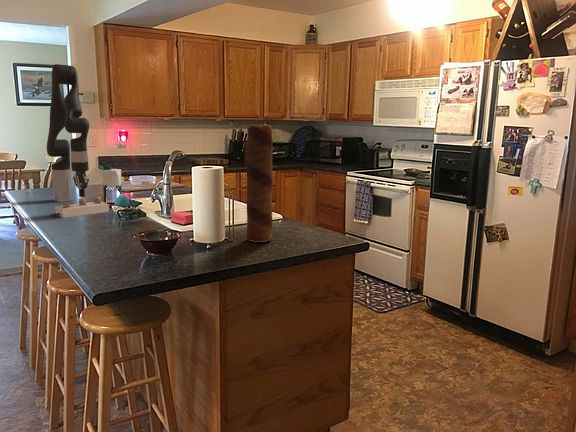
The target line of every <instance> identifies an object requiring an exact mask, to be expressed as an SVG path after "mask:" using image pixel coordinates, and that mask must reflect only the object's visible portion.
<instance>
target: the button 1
mask: <svg viewBox="0 0 576 432" xmlns="http://www.w3.org/2000/svg"><path fill="white" fill-rule="evenodd" d="M70 205H71V204H67V203H66V204H65V203H64V204H63V205H62V206H63V208H69V207H70Z"/></svg>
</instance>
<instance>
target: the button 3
mask: <svg viewBox="0 0 576 432" xmlns="http://www.w3.org/2000/svg"><path fill="white" fill-rule="evenodd" d="M93 200H94V201H93V202H94V203H101V202H102V198H101V197H100V196H94V197H93Z"/></svg>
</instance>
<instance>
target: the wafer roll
mask: <svg viewBox="0 0 576 432" xmlns="http://www.w3.org/2000/svg"><path fill="white" fill-rule="evenodd" d="M246 138H247V139H246V150H245V153H246V155H245V157H246V158H245V159H246V160H245V161H246V170H245V171H246V217H247V218H246V223H247V224H246V240H247V239H249V240H254V241H265V240H269V239H271V238H272V239H273V203H272V201H273V200H272V199H273V182H274V181H273V127H272V126H271V125H270V124H261V125H256V124H251V125H249V126H248V127H247V137H246Z"/></svg>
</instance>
